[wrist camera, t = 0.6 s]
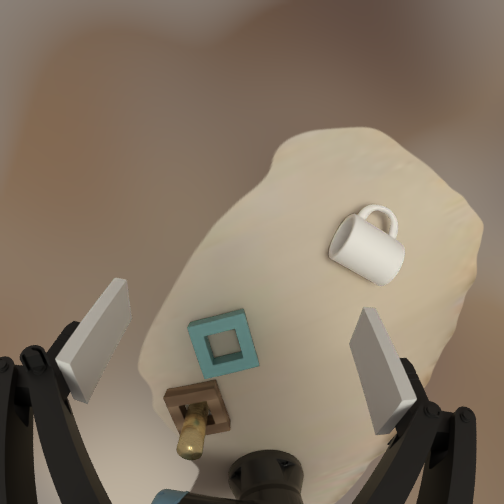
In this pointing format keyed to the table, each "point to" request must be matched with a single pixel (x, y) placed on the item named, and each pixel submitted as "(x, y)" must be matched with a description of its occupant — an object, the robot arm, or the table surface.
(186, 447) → the pin
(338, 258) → the mug
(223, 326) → the socket block
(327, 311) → the table surface
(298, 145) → the table surface
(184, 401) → the mount block
